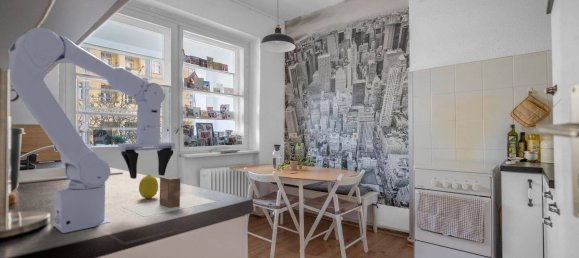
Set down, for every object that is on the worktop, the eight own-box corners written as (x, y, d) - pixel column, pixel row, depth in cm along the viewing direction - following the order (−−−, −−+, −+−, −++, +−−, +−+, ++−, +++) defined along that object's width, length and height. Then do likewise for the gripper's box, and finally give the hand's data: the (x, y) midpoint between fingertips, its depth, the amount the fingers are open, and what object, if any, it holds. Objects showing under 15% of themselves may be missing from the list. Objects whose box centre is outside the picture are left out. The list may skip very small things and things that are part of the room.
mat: (143, 218, 75) (143, 216, 75) (121, 208, 84) (121, 206, 84) (216, 203, 92) (216, 201, 92) (191, 196, 101) (191, 194, 101)
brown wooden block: (169, 208, 84) (169, 179, 84) (158, 204, 87) (159, 177, 88) (179, 206, 86) (180, 178, 86) (169, 202, 90) (169, 175, 90)
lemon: (149, 202, 91) (149, 176, 91) (134, 201, 93) (135, 175, 93) (161, 198, 97) (162, 174, 97) (147, 197, 98) (148, 173, 98)
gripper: (166, 127, 90) (166, 172, 90) (114, 126, 79) (113, 177, 79) (179, 127, 86) (178, 175, 86) (124, 126, 74) (124, 181, 74)
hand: (147, 176), depth 82 cm, fingers open, 7 cm apart
